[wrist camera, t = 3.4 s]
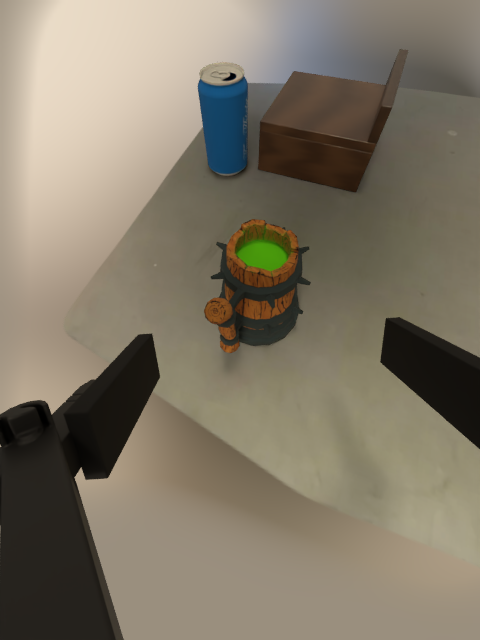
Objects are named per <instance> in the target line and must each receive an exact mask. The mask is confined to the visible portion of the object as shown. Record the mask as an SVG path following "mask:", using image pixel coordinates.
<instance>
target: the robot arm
mask: <svg viewBox="0 0 480 640" xmlns="http://www.w3.org/2000/svg"><path fill="white" fill-rule="evenodd" d="M380 362H381V363H382V364H383V365H384V366H385V367H386V368H388V369H389V370H390V371H391V372H392V373H393V374H394V375H396V376H397V377H398V378H399V379H400V380H401V381H402V382H404V383H405V384H406V385H407V386H408V387H409V388H410V389H412V390H413V391H414V392H415V393H416V394H417V395H418V396H420V397H421V398H422V399H423V400H424V401H425V402H426V403H428V404H429V405H430V406H431V407H432V408H433V409H434V410H436V411H437V412H438V413H439V414H440V415H441V416H442V417H444V418H445V419H446V420H447V421H448V422H449V423H450V424H452V425H453V426H454V427H455V428H456V429H457V430H458V431H460V432H461V433H462V434H463V435H464V436H465V437H466V438H468V439H469V440H470V441H471V442H472V443H473V444H474V445H476V446H477V447H478V448H479V449H480V358H479V357H477V356H475V355H473V354H471V353H469V352H467V351H465V350H463V349H461V348H459V347H457V346H455V345H453V344H451V343H449V342H447V341H445V340H444V339H442V338H440V337H438V336H436V335H434V334H432V333H430V332H428V331H426V330H424V329H422V328H420V327H418V326H416V325H414V324H412V323H410V322H408V321H406V320H404V319H402V318H400V317H398V318H386V322H385V330H384V337H383V345H382V353H381V361H380ZM159 378H160V374H159V368H158V363H157V358H156V352H155V347H154V341H153V336H152V334H140V335H138V336H137V337H136V338H135V339H134V340H133V341H132V342H131V343H130V344H129V345H128V346H127V347H126V348H125V349H124V350H123V351H122V352H121V353H120V355H119V356H118V357H117V358H116V359H115V360H114V361H113V362H112V363H111V364H110V365H109V367H107V368H106V369H105V370H104V372H103V373H102V374H101V375H100V376H99V377H98V378H97V379H96V380H90V381H89V382H87V383H85V384H84V385H82V386H80V387H79V389H77V390H76V391H75V392H74V393H73V395H72V396H70V397H69V398H68V399H67V400H66V402H64V403H63V404H62V405H61V406H60V407H59V408H58V409H57V410H56V411H55V412H54V413H53V414H52V415H51V412H50V409H49V406H48V404H47V403H46V402H45V401H41V400H37V401H30V402H26V403H23V404H20V405H17V406H15V407H13V408H10V409H8V410H7V411H5V412H4V413H2V414H0V445H1V447H0V525H1V533H0V640H124V639H123V636H122V633H121V630H120V626H119V623H118V620H117V616H116V613H115V610H114V606H113V603H112V600H111V596H110V593H109V590H108V586H107V583H106V580H105V576H104V573H103V570H102V567H101V564H100V560H99V557H98V553H97V550H96V547H95V543H94V541H93V537H92V533H91V530H90V527H89V523H88V520H87V517H86V514H85V510H84V507H83V504H82V500H81V497H80V494H79V490H78V487H77V484H76V481H75V478H74V477H75V476H76V474H77V473H78V471H79V469H80V468H81V467H82V470H83V473H84V476H85V479H86V480H88V479H104V478H108V477H109V475H110V473H111V471H112V469H113V467H114V465H115V463H116V461H117V459H118V457H119V455H120V453H121V452H122V450H123V448H124V446H125V444H126V442H127V440H128V438H129V436H130V434H131V432H132V430H133V428H134V426H135V424H136V422H137V421H138V419H139V417H140V415H141V413H142V411H143V409H144V407H145V405H146V403H147V401H148V399H149V397H150V395H151V393H152V391H153V390H154V388H155V386H156V384H157V382H158V380H159Z"/></svg>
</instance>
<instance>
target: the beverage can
mask: <svg viewBox="0 0 480 640" xmlns="http://www.w3.org/2000/svg"><path fill="white" fill-rule="evenodd" d="M198 92H199V99H200V106H201V114H202V121H203V129H204V136H205V144H206V151H207V158H208V165H209V167H210V168H211V169H212V170H213V171H214V172H216V173H218V174H220V175H223V176H231V175H235V174H237V173H239V172H240V171H241V170H243V169H244V168H245V167H246V165H247V101H248V85H247V81H246V79H245V77H244V70H243V68H242V67H240V66H239V65H237V64H233V63H226V62H225V63H224V62H223V63H214V64H211V65H208V66H206V67H204V68H203V69H202V70H201V71H200V81H199V83H198Z"/></svg>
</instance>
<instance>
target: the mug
mask: <svg viewBox="0 0 480 640" xmlns="http://www.w3.org/2000/svg"><path fill="white" fill-rule="evenodd" d="M216 245H218V246H219V247H220V248H221V249H222V250H223V252H222V259H221V269H220V272H219V273H218V274H215V275H213V276H211V279H224V280H223V284H222V292H221V294H220V296H219V298H213V299H212V300H210V301H209V302H207V305H206V307H205V310H204V312H205V317H206V318H207V319H208V320H209V321H210V322H211V323H213V324H217V325H218V326H219V331H220V333H221V335H220V339H221V341H220V347H221V348H222V349H223V350H224V351H225V352H228V353H232V352H234V351H236V350H237V349H238V347H239V346H240V345H239V341H240V342H243V343H246V344H249V345H253V346H257V345H270V344H272V343H274V342H276V341H279V340H281V339H283V338H285V336H286V335H287V334H288V333H289V332H290V331H291V329H292V328H293V327H294V326H295V323H296V320H297V316H298V313H299V314H303V311H302V310H300V309H299V304H298V299H297V283H299V284H305V285H310V283H311V282H309V281H307V280H306V279H304V278H302V277H301V275H302V253H304V252H306V251H307V250H309V247H303V248H298V241H297V236H296V235H295V234H294V233H293V232H292V231H291V230H289V231H286V230H285V228H281V227H279V226H275V225H271V224H267V223H265V220H255V219H252V220H250V221H248V222H245V223H243V224H242V225H241V228H240V229H239V230H238V231H237V232H236V233H235V234H234V235H232V236H231V238H230V241H229V243H228V245H226V244H223V243H219V242H217V244H216Z"/></svg>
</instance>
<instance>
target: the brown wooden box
mask: <svg viewBox="0 0 480 640" xmlns="http://www.w3.org/2000/svg"><path fill="white" fill-rule="evenodd" d="M407 54H408V50H402V49H400V50H399V52H398V55H397V57H396V60H395V62H394V65H393V68H392V70H391V73H390V76H389V78H388V81H387V83H386V85H381V84H374V83H368V82H362V81H355V80H348V79H341V78H335V77H329V76H322V75H316V74H309V73H303V72H296V71H294V72H293V73H292V75H291V76H290V78H289V79H288V81H287V82H286V84H285V85H284V87H283V88H282V90H281V91H280V93H279V94H278V96H277V97H276V99H275V100H274V102H273V103H272V105H271V106H270V108H269V109H268V111H267V112H266V114H265V115H264V117H263V118H262V120H261V121H260V140H259V165H258V169H259V170H264V171H268V172H272V173H276V174H281V175H285V176H289V177H293V178H298V179H302V180H306V181H310V182H315V183H319V184H323V185H327V186H332V187H336V188H340V189H344V190H349V191H353V192H356V190H357V188H358V186H359V183H360V181H361V179H362V177H363V174H364V172H365V170H366V167H367V165H368V163H369V160H370V158H371V156H372V153H373V151H374V149H375V146H376V144H377V142H378V139H379V137H380V135H381V132H382V130H383V128H384V125H385V123H386V121H387V118H388V116H389V114H390V111H391V109H392V106H393V103H394V99H395V96H396V92H397V89H398V85H399V82H400V78H401V74H402V71H403V68H404V64H405V60H406V57H407Z"/></svg>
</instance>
